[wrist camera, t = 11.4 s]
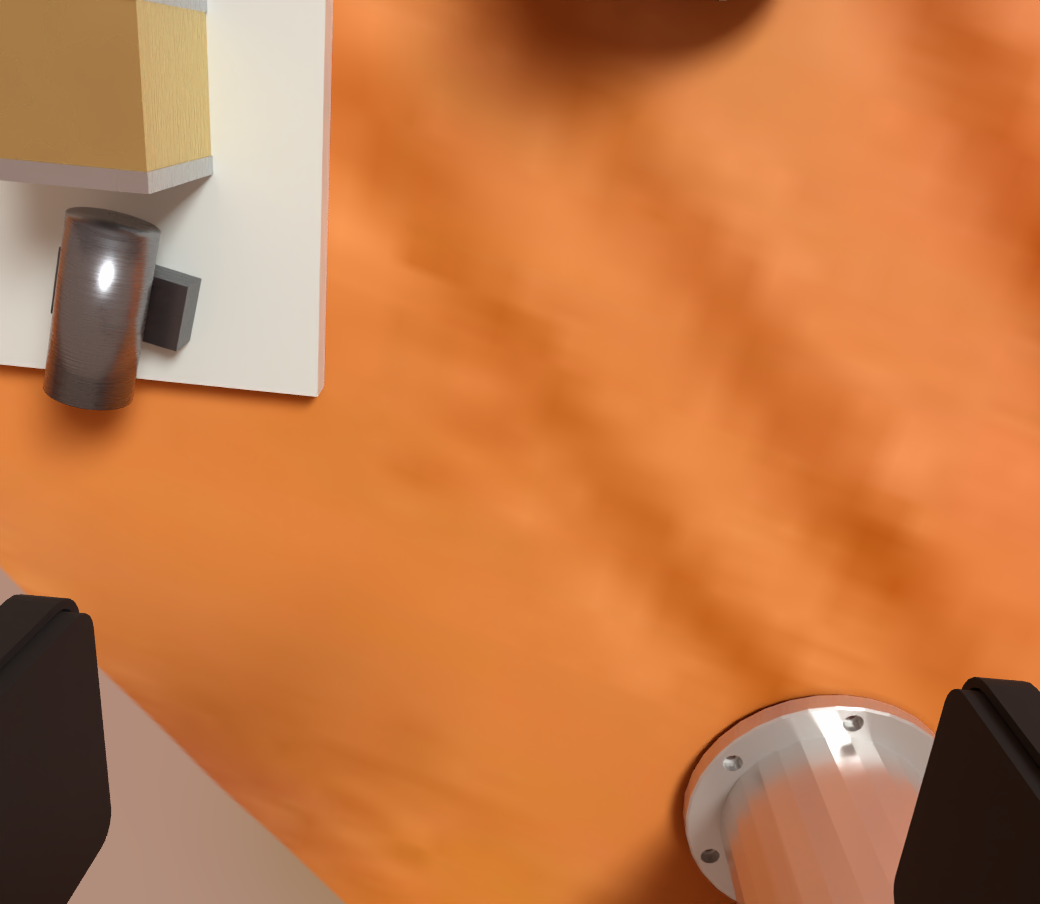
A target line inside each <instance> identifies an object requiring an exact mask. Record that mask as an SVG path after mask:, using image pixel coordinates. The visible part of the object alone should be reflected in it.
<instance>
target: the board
mask: <svg viewBox="0 0 1040 904" xmlns="http://www.w3.org/2000/svg"><path fill="white" fill-rule="evenodd" d="M206 28H207V55H208V82H209V109H210V136H211V156H213V174H212V175H209V176H205V177H202V178H199V179H196V180H193V181H190V182H186V183H183V184H180V185H177V186H174V187H170V188H167V189H164V190H161V191H158V192H154V193H151V194H140V193H130V192H119V191H108V190H98V189H87V188H76V187H66V186H55V185H44V184H34V183H23V182H12V181H2V180H0V364H1V365H11V366H21V367H31V368H40V369H45V367H46V359H47V351H48V344H49V336H50V328H51V320H52V314H51V305H52V297H53V289H54V282H55V274H56V266H57V258H58V250H59V247H60V246H61V243H62V235H63V228H64V220H65V212H66V210H67V209H69V208H73V207H93V208H101V209H107V210H112V211H116V212H121V213H124V214H128V215H131V216H134V217H137V218H140V219H143V220H145V221H147V222H149V223H151V224H153V225H155V226H156V227H157V228H159V229H160V231H161V235H160V241H159V247H158V253H157V258H156V265H159V266H163V267H166V268H169V269H172V270H175V271H179V272H182V273H185V274H188V275H191V276H195V277H198V278H201V279H202V280H201V285H200V290H199V296H198V301H197V306H196V311H195V317H194V322H193V327H192V332H191V338H190V341H189V342H188V343H186V344H185V345H184V346H183V347H181V348H180V349H179V350H177V351H173V350H169V349H166V348H163V347H160V346H156V345H153V344H150V343H146V342H143V341H142V347H141V353H140V358H139V364H138V370H137V376H136V378H138V379H148V380H158V381H167V382H177V383H187V384H197V385H206V386H216V387H226V388H236V389H245V390H255V391H265V392H275V393H284V394H294V395H304V396H314V397H318V395H319V394H320V392H321V391H322V389H323V388H324V369H325V327H326V284H327V242H328V199H329V157H330V114H331V72H332V29H333V0H207V12H206Z"/></svg>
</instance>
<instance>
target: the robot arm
mask: <svg viewBox="0 0 1040 904" xmlns="http://www.w3.org/2000/svg"><path fill="white" fill-rule="evenodd" d="M110 818H111V804H110V793H109V783H108V772H107V761H106V751H105V741H104V730H103V720H102V710H101V699H100V689H99V678H98V668H97V657H96V647H95V636H94V627H93V622H92V619H91V617H90V616H89V615H88V614H86V613H79V610H78V607H77V605H76V603H75V602H74V601H73V600H71V599H68V598H57V597H45V596H34V595H22V594H21V595H14V596H12V597H10V598H9V599H7V600H6V601H5V602H4V603H3V604H2V605H1V606H0V904H67V902H68V901H69V899H70V898H71V896H72V894H73V893H74V891H75V890H76V888H77V886H78V885H79V883H80V881H81V880H82V878H83V877H84V875H85V873H86V872H87V870H88V868H89V867H90V865H91V864H92V862H93V860H94V859H95V857H96V855H97V854H98V852H99V851H100V849H101V847H102V845H103V843H104V841H105V839H106V836H107V833H108V829H109V825H110ZM683 818H684V825H685V831H686V837H687V841H688V844H689V848H690V851H691V855H692V857H693V859H694V860H695V862H696V864H697V866H698V867H699V869H700V871H701V873H702V874H703V875H704V876H705V877H706V878H707V879H708V880H709V881H710V882H711V883H712V884H713V886H714V887H715V888H717V889H718V890H720V891H721V892H722V893H724V894H725V895H727V896H728V897H729V898H731V899H732V900H734V901H736V902H737V904H1040V692H1039V691H1038V689H1037V688H1035V687H1034V686H1033V685H1032V684H1031V683H1028V682H1024V681H1014V680H1003V679H991V678H980V677H973V678H971V679H968V680H967V682H966V683H965V684H964V685H963V687H962V689H954V690H951V692H950V693H949V694H948V695H947V698H946V700H945V703H944V707H943V710H942V714H941V717H940V721H939V724H938V728H937V731H936V735H935V733H934V732H933V731H932V730H931V729H929V728H928V727H927V726H926V725H925V724H924V723H922V722H921V721H920V720H919V719H918V718H916V717H915V716H913V715H911V714H909V713H907V712H905V711H903V710H902V709H900V708H898V707H896V706H893V705H890V704H887V703H884V702H881V701H877V700H874V699H871V698H864V697H856V696H849V695H818V696H812V697H806V698H800V699H795V700H789V701H787V702H784V703H781V704H778V705H775V706H772V707H769V708H766V709H763V710H761V711H759V712H758V713H756V714H754V715H752V716H750V717H748V718H746V719H744V720H742V721H740V722H739V723H738V724H736V725H735V726H734V727H732V728H731V729H730V730H728V731H727V732H726V733H724V734H723V735H722V736H720V737H719V738H718V739H717V741H716V742H715V743H714V744H713V745H712V746H711V747H710V748H709V749H708V750H707V751H706V752H705V753H704V755H703V756H702V758H701V759H700V761H699V763H698V764H697V766H696V768H695V769H694V771H693V772H692V774H691V777H690V780H689V783H688V786H687V789H686V792H685V797H684V807H683Z"/></svg>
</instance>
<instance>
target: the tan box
mask: <svg viewBox="0 0 1040 904" xmlns="http://www.w3.org/2000/svg"><path fill="white" fill-rule="evenodd" d="M206 12H207V0H0V180H2V181H12V182H23V183H34V184H44V185H55V186H66V187H76V188H87V189H98V190H108V191H119V192H130V193H140V194H151V193H154V192H158V191H161V190H164V189H167V188H170V187H174V186H177V185H180V184H183V183H186V182H190V181H193V180H196V179H199V178H202V177H205V176H209V175H212V174H213V156H211V136H210V109H209V82H208V55H207V28H206Z"/></svg>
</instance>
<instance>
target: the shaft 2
mask: <svg viewBox="0 0 1040 904" xmlns="http://www.w3.org/2000/svg"><path fill="white" fill-rule="evenodd" d="M160 235H161V231H160V229H159V228H157V227H156V226H155V225H153V224H151V223H149V222H147V221H145V220H143V219H140V218H137V217H134V216H131V215H128V214H124V213H121V212H116V211H112V210H107V209H101V208H93V207H73V208H69V209H67V210H66V212H65V220H64V228H63V235H62V243H61V246H60V247H59V250H58V258H57V266H56V274H55V282H54V289H53V297H52V305H51V314H52V320H51V328H50V336H49V344H48V351H47V359H46V367H45V374H44V382H43V389H44V391H45V393H46V394H47V395H49V396H50V397H51V398H53V399H55V400H57V401H59V402H61V403H64V404H66V405H70V406H73V407H77V408H83V409H90V410H113V409H119V408H122V407H125V406H127V405H129V404H130V403H131V402H132V400H133V394H134V388H135V382H136V376H137V370H138V364H139V358H140V353H141V347H142V341H143V342H146V343H150V344H153V345H156V346H160V347H163V348H166V349H169V350H173V351H177V350H179V349H180V348H181V347H183V346H184V345H185V344H186V343H188V342H189V341H190V338H191V332H192V327H193V322H194V317H195V311H196V306H197V301H198V296H199V290H200V285H201V280H202V279H201V278H198V277H195V276H191V275H188V274H185V273H182V272H179V271H175V270H172V269H169V268H166V267H163V266H159V265H156V258H157V253H158V247H159V241H160Z"/></svg>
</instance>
